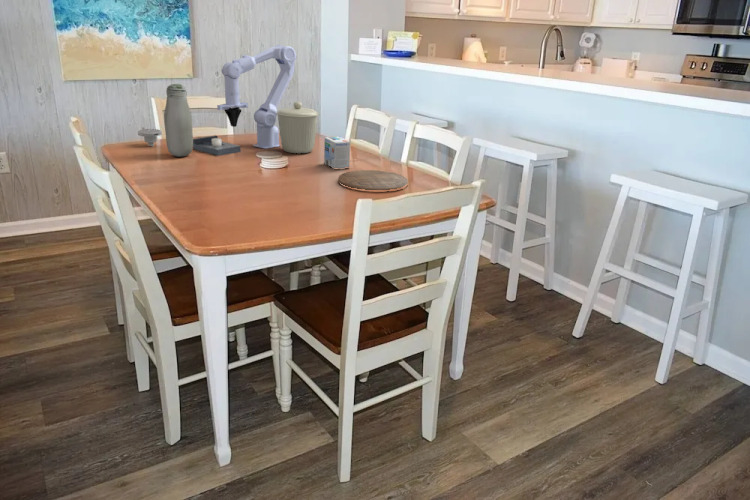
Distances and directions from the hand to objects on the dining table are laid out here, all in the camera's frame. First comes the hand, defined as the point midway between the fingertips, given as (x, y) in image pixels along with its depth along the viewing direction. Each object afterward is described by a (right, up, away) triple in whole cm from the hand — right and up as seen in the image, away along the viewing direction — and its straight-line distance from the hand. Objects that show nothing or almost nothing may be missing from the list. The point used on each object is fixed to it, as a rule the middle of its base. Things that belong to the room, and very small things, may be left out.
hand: (233, 126), depth 243 cm
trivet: (+59, -29, -36) cm, 75 cm away
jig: (-7, -10, 0) cm, 12 cm away
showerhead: (-36, -8, +3) cm, 37 cm away
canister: (+26, -10, +6) cm, 29 cm away
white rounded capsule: (-7, -10, 0) cm, 12 cm away
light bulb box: (+45, -19, -15) cm, 51 cm away
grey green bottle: (-18, -15, -12) cm, 26 cm away
